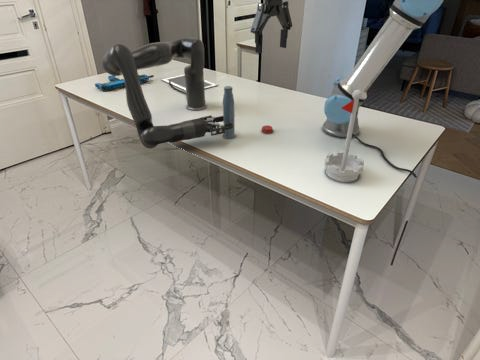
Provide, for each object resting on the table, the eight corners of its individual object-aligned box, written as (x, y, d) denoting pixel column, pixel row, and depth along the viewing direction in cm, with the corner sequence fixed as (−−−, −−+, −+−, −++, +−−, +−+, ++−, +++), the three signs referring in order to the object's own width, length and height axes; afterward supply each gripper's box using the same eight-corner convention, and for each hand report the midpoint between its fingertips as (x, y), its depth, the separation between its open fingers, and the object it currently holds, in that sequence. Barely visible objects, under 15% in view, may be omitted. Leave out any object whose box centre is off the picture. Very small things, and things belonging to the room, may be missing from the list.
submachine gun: (139, 68, 225) (158, 74, 208) (140, 74, 226) (158, 80, 210) (87, 78, 206) (103, 86, 189) (89, 84, 208) (104, 92, 191)
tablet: (161, 80, 213) (161, 79, 212) (188, 74, 224) (188, 73, 223) (189, 92, 192) (189, 92, 192) (218, 85, 203) (218, 84, 203)
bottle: (232, 139, 143) (232, 89, 132) (222, 137, 144) (220, 88, 133) (236, 134, 147) (235, 86, 135) (225, 133, 148) (224, 85, 136)
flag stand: (346, 161, 127) (361, 81, 110) (369, 179, 117) (390, 94, 100) (316, 168, 123) (327, 86, 106) (337, 186, 113) (353, 99, 96)
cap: (270, 128, 152) (270, 124, 151) (273, 133, 148) (273, 129, 147) (260, 129, 151) (260, 125, 150) (263, 134, 147) (263, 130, 146)
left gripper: (197, 127, 128) (235, 119, 134) (184, 114, 139) (220, 107, 145) (198, 145, 132) (235, 136, 138) (186, 131, 143) (221, 124, 149)
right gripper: (289, -16, 128) (285, 43, 140) (240, -13, 114) (240, 53, 126) (305, -15, 124) (299, 46, 135) (256, -11, 110) (255, 57, 121)
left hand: (227, 121), depth 142 cm, fingers open, 8 cm apart
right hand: (271, 50), depth 131 cm, fingers open, 13 cm apart
